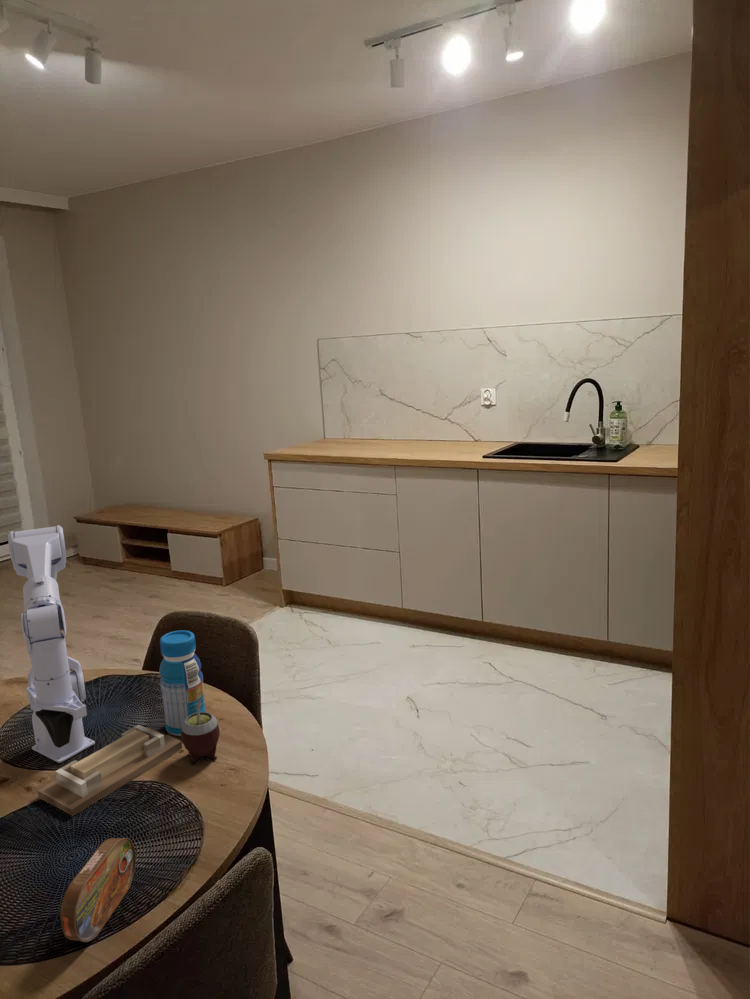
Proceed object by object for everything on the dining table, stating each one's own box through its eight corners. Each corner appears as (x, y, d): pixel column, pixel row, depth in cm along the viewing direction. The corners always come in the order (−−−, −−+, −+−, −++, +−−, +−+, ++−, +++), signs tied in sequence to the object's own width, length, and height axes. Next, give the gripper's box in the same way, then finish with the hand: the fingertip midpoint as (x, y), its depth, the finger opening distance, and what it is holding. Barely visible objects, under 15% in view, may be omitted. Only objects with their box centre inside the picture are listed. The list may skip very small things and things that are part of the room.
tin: (82, 957, 95) (74, 903, 93) (60, 954, 96) (52, 900, 94) (140, 874, 110) (134, 825, 108) (121, 871, 110) (114, 823, 108)
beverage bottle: (164, 740, 145) (154, 648, 140) (166, 719, 153) (156, 630, 148) (207, 734, 147) (199, 642, 142) (207, 713, 155) (198, 625, 150)
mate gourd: (199, 743, 144) (192, 673, 140) (232, 751, 140) (226, 680, 137) (174, 763, 137) (166, 691, 134) (208, 773, 134) (200, 699, 130)
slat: (72, 780, 130) (70, 766, 130) (137, 743, 141) (135, 729, 141) (86, 788, 128) (84, 773, 127) (150, 749, 139) (148, 735, 139)
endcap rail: (38, 797, 128) (35, 777, 127) (148, 733, 148) (146, 715, 147) (72, 817, 123) (69, 796, 122) (182, 748, 142) (180, 729, 141)
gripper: (5, 672, 125) (17, 743, 128) (55, 693, 117) (66, 768, 120) (43, 656, 131) (53, 724, 134) (93, 676, 123) (102, 747, 126)
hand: (62, 744), depth 128 cm, fingers closed
